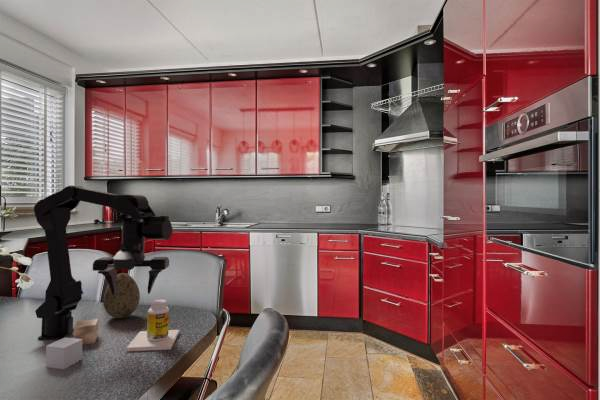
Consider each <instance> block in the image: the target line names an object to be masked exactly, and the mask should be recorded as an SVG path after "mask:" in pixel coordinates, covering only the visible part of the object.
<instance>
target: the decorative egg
mask: <svg viewBox="0 0 600 400" xmlns="http://www.w3.org/2000/svg"><path fill="white" fill-rule="evenodd" d="M140 293H141V292H140V289H139V286H138V284H137V282H136V281H135V279H134V278H133V277H132V275H130V274H128V273H126V272H125V273H124V272H121V273H117V288H116V294H115V295H113V294H112V291H111V289H110V286H109V283H108V284H107V286H106V288H105V291H104V294H103V308H104V310H105V312H106V314H108V315H109V316H110V317H112V318H115V319H119V320H120V319H125V318H128V317H129V316H131V315H132V314H133V313H134V312H135V311H136V309H137V308H138V306H139V304H140V300H141V299H140V298H141V294H140Z"/></svg>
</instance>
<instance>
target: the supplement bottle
mask: <svg viewBox="0 0 600 400" xmlns="http://www.w3.org/2000/svg"><path fill="white" fill-rule="evenodd" d="M150 302H151V303H150V307H149V308H148V310H147V324H146V327H147V328H146V331H147V339H148V340H150V341H160V340H163V339H165V338H167V336H168V330H169V325H170V323H169V321H170V320H169V319H170V308H169V307H168V306H167V300H166V299H155V300H152V301H150Z"/></svg>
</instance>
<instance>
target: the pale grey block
mask: <svg viewBox="0 0 600 400" xmlns="http://www.w3.org/2000/svg"><path fill="white" fill-rule="evenodd" d="M45 348H46V349H45V350H46V352H45V367H46V368H50V369H58V370H59V369H60V370H66V369H67V368H69V367H70V366H72V365H75V364H76V363H78V362H79V360H80V361H82V359H83V344H82V339H76V338H74V337H66V336H65V337H64V338H59V340H58V339H57V340H56V341H54V342H51V343H49V344H47V345H46V347H45Z"/></svg>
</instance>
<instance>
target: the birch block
mask: <svg viewBox="0 0 600 400" xmlns="http://www.w3.org/2000/svg"><path fill="white" fill-rule="evenodd" d="M73 328H74V330H73V338H76V339H82V345H88V344H96V341H97V338H98V331H99V330H98V329H99V318H95V319H87V320H86V319H85V320H77V321H76V323H75V325H73Z"/></svg>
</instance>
